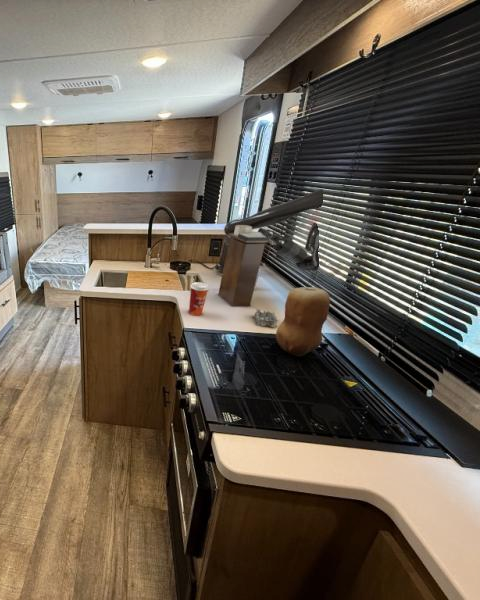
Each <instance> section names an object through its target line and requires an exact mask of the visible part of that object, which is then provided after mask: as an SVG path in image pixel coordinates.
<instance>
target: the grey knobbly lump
mask: <svg viewBox="0 0 480 600" xmlns="http://www.w3.org/2000/svg"><path fill="white" fill-rule="evenodd" d="M255 311H256V312H254V315H253V316H254V318H255V321H256V322H257V325H258V326H261V327H271V328H274V327H277V323H278V322H279V319H278V316H276V313H275V312H274V311H265V310H263V311H261V309H260V308H259V309H258V308H257V307H256V308H255Z"/></svg>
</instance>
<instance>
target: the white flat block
mask: <svg viewBox="0 0 480 600" xmlns="http://www.w3.org/2000/svg"><path fill="white" fill-rule="evenodd" d="M269 232H270V233H272V234H274V233H273V231H269ZM238 234H259V235H263V234H262V233H261V232H258V231H253V229H252V227H251V226H247V225H236V226H235V231H234V235H237V236H238Z"/></svg>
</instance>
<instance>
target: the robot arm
mask: <svg viewBox="0 0 480 600" xmlns="http://www.w3.org/2000/svg"><path fill="white" fill-rule="evenodd" d="M322 189H323V188H320V189H317V190H315V191H313V192H310V193H308V194H305V195H303V196H301V197H298V198H295V199H292V200H289V201H286V202H283V203H280V204H277V205H273V206H270V207H268V208H265V209H263V210H261V211H258V212H256V213H254V214H252V215H250V216H247V217H244V218H240V219H238V218H236V219H233V220H230V221H228V222H227V223H226V224H225V225H224V229H223V232H224V234H225V238H224V240H223V243H222V248H221V253H220V257H219V262H218V264H217V263H216V264H215V265H214V266H213V267H209V266H208V265H206V264H205V263H203V262H201V261H199V260H197V259H195V260H196V261H195V262H197V263H199V264H201V265H202V266H203V267H205V268H207V269H210V270H216V271H217V275H219V276H222V273H223V268H224V263H225V258H226V253H227V247H228V242H229V237H231V236H229V235H228V234H234V231H235V226H236V225H247V226H251V227H252V230H256V229H258V230H257V232H261V233H262V234H263V235H265V237H268V238H267V240H268V242H269V243H270V244H272V249H273V250H274V251H276V252H277V253H279V254H280V255H281V256H283V257H284V258H287V259H288V260H290V261H292V263H293V264H294V265H295V266H296V267H297V268H298V269H299V270H301V271H314V272H315V270H316V271H318V270H317V269H318V267H319V257H318V252H319V251H318V248H319V230H318V226H317V224H316V223H313V222H312V224H311V226H310V228H309V231H308V234H307V237H306V242H305V247H304V248H302V247H301V246H300V245H299V244H297V243H296V242H295V241H293V239H290V238H289V237H287V236H278V235H277V234H275V233H273V234H272V233H270V232H271V231H268V230H267V229H266V228H265V227H269V226H273V225H276V224H280V223H282V222H285V221H288V220H289V219H291V218H293V217H295V216H296V215H298V214H301V213H303V212H306V211H309V210H313V209H314V210H315V208H319V207H321V206H322V203H323V190H322ZM308 252H309V253H310V255H309V256H308ZM189 262H193V260H192V259H190V260H189Z"/></svg>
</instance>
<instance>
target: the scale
mask: <svg viewBox="0 0 480 600" xmlns="http://www.w3.org/2000/svg"><path fill="white" fill-rule="evenodd" d="M238 237H239V238H241V239H244V240H246V241H267V238H268V237H265V235H259V234H238Z"/></svg>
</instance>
